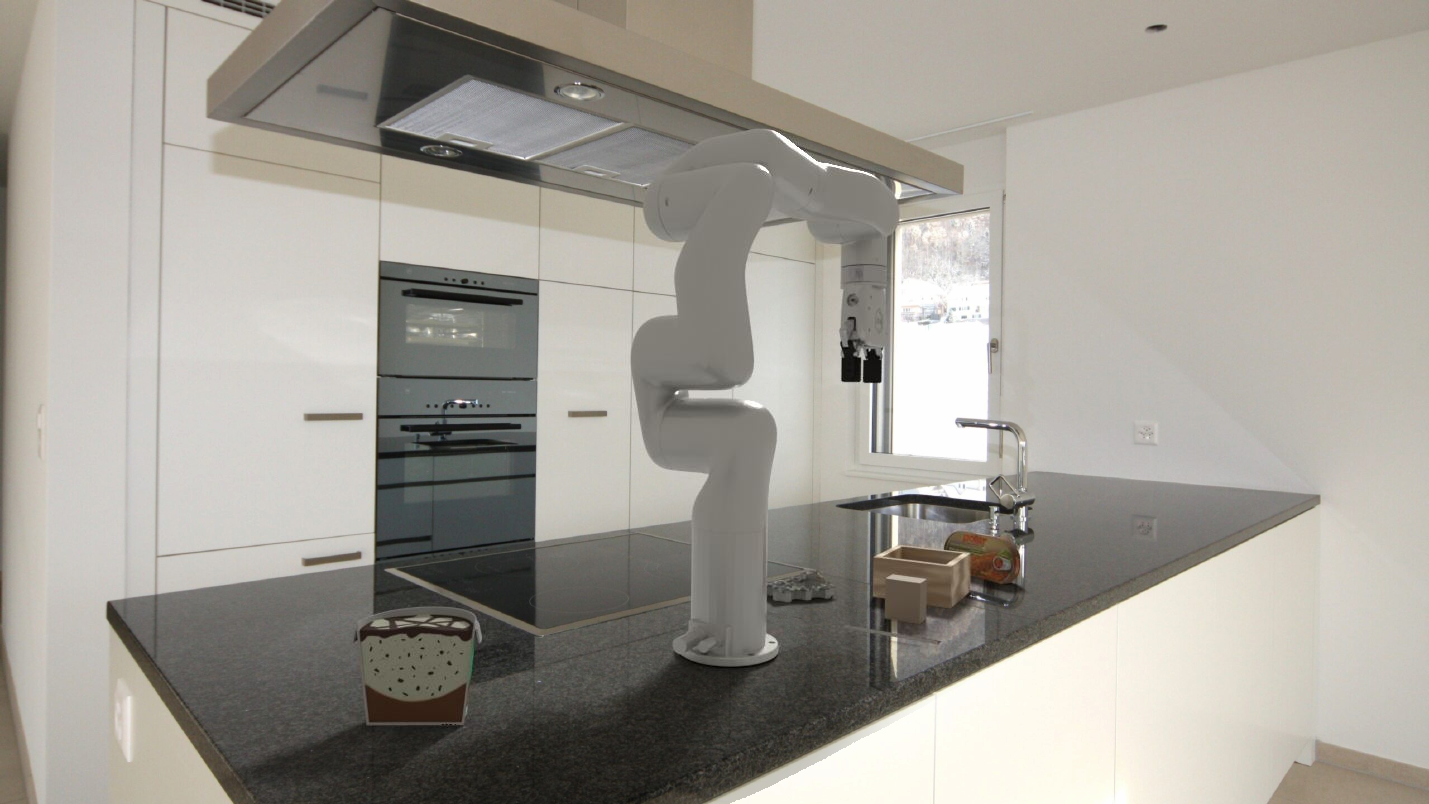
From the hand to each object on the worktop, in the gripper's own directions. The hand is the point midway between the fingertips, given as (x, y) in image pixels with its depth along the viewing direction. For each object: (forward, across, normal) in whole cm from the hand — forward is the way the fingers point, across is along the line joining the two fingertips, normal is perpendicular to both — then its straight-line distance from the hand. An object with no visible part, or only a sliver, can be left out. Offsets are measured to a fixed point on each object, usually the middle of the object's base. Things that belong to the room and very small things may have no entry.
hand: (861, 382), depth 133 cm
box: (+34, -1, -11) cm, 36 cm away
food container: (+34, -73, +18) cm, 83 cm away
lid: (+35, -16, -13) cm, 41 cm away
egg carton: (+35, -12, +5) cm, 37 cm away
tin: (+35, +17, -16) cm, 42 cm away
